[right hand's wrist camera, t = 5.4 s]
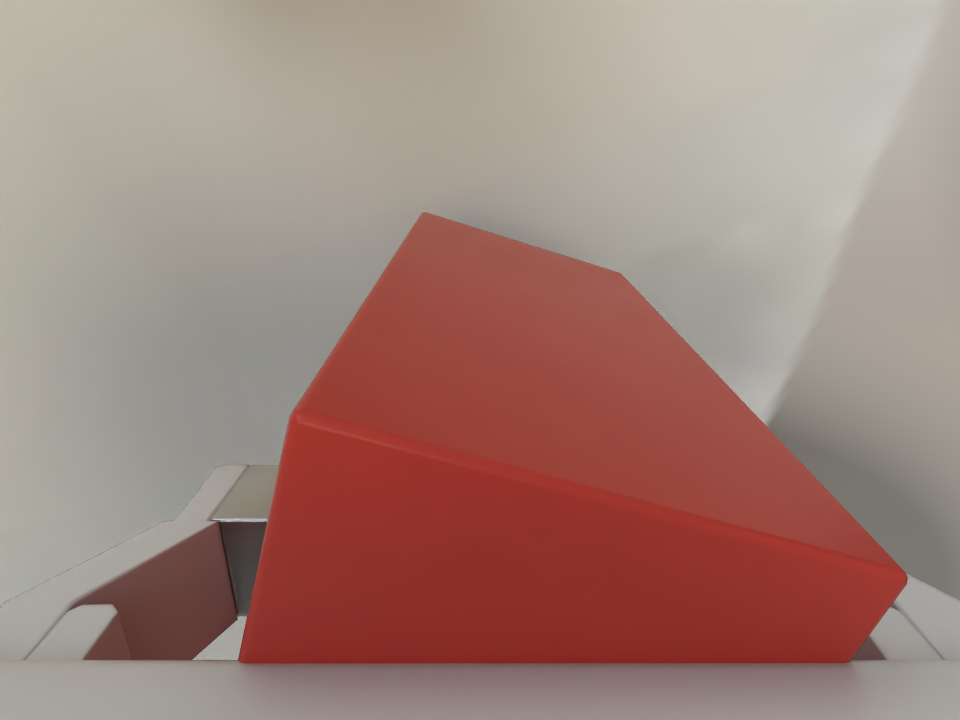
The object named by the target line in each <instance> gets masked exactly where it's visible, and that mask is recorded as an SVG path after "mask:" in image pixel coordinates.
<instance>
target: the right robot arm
mask: <svg viewBox="0 0 960 720" xmlns="http://www.w3.org/2000/svg"><path fill="white" fill-rule="evenodd" d="M278 469H279V466H268V465H251V466H250V465H222V466H218V467H216V469H215V470H214V471H213V472H212V474H211V475H210V476H209V477H208V479H207V480H206V481H205V483H204V484H203V485H202V486H201V488H200V489H199V490H198V492H197V493H196V494H195V495H194V497H193V498H192V499H191V500H190V502H189V503H188V504H187V506H186V507H185V508H184V509H183V511H182V512H181V513H180V515H179V516H178V517H177V518H176V520H175V521H164V522H162V523H160V524H158V525H156V526H154V527H152V528H150V529H148V530H146V531H144V532H142V533H140V534H138V535H136V536H134V537H132V538H130V539H128V540H126V541H125V542H123V543H121V544H119V545H117V546H115V547H113V548H111V549H109V550H107V551H105V552H103V553H101V554H99V555H97V556H95V557H93V558H91V559H89V560H87V561H85V562H83V563H81V564H79V565H77V566H75V567H73V568H71V569H69V570H67V571H65V572H63V573H61V574H59V575H57V576H55V577H53V578H51V579H49V580H48V581H46V582H44V583H42V584H40V585H38V586H36V587H34V588H32V589H30V590H28V591H26V592H24V593H22V594H20V595H18V596H16V597H14V598H12V599H10V600H8V601H6V602H5V603H4V604H3V605H2V606H1V607H0V720H960V601H959V600H957V599H955V598H954V597H952V596H950V595H948V594H946V593H944V592H942V591H940V590H938V589H936V588H934V587H932V586H930V585H928V584H926V583H924V582H922V581H920V580H918V579H916V578H914V577H912V576H910V575H908V574H907V577H908V581H907V585H906V586H905V588H904V589H903V590H902V592H901V593H900V594H899V596H898V597H897V598H896V600H895V601H894V602H893V604H892V605H891V607H890V608H889V609H888V611H887V612H886V613H885V615H884V616H883V617H882V619H881V620H880V621H879V623H878V624H877V626H876V627H875V628H874V630H873V631H872V632H871V634H870V635H869V636H868V638H867V639H866V640H865V642H864V643H863V645H862V646H861V647H860V649H859V650H858V651H857V653H856V654H855V655H854V657H853V658H852V659H851V661H850V662H847V663H357V664H246V663H240V662H239V661H238V660H192V659H193V658H194V657H196V656H197V655H198V654H199V653H200V652H201V651H202V650H203V649H205V648H206V647H207V646H208V645H209V644H210V643H211V642H212V641H214V640H215V639H216V638H217V637H218V636H219V635H220V634H221V633H223V632H224V631H225V630H226V629H227V628H228V627H229V626H230V625H232V624H233V623H234V622H235V621H236V620H237V616H248V611H249V606H250V601H251V597H252V592H253V587H254V582H255V578H256V573H257V568H258V563H259V559H260V554H261V549H262V545H263V540H264V535H265V530H266V526H267V521H268V516H269V511H270V507H271V502H272V497H273V492H274V488H275V483H276V478H277V474H278Z"/></svg>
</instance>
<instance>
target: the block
mask: <svg viewBox="0 0 960 720" xmlns="http://www.w3.org/2000/svg"><path fill="white" fill-rule="evenodd" d="M907 581H908V577H907V574H906V572H905V571H904V570H903V569H902V568H901V567H900V566H899V565H898V564H897V563H896V562H895V561H894V560H893V559H892V558H891V557H890V556H889V555H888V553H887V552H886V551H885V550H884V549H883V548H882V547H881V546H880V545H879V544H878V543H877V542H876V541H875V540H874V539H873V538H872V537H871V536H870V535H869V534H868V532H867V531H866V530H865V529H864V528H863V527H862V526H861V525H860V524H859V523H858V522H857V521H856V520H855V519H854V518H853V517H852V516H851V515H850V514H849V513H848V511H847V510H846V509H845V508H844V507H843V506H842V505H841V504H840V503H839V502H838V501H837V500H836V499H835V498H834V497H833V496H832V495H831V494H830V493H829V492H828V490H827V489H826V488H825V487H824V486H823V485H822V484H821V483H820V482H819V481H818V480H817V479H816V478H815V477H814V476H813V475H812V474H811V473H810V472H809V471H808V469H807V468H806V467H805V466H804V465H803V464H802V463H801V462H800V461H799V460H798V459H797V458H796V457H795V456H794V455H793V454H792V453H791V452H790V451H789V450H788V448H787V447H786V446H785V445H784V444H783V443H782V442H781V441H780V440H779V439H778V438H777V437H776V436H775V435H774V434H773V433H772V432H771V431H770V430H769V429H768V427H767V426H766V425H765V424H764V423H763V422H762V421H761V420H760V419H759V418H758V417H757V416H756V415H755V414H754V413H753V412H752V411H751V410H750V409H749V408H748V406H747V405H746V404H745V403H744V402H743V401H742V400H741V399H740V398H739V397H738V396H737V395H736V394H735V393H734V392H733V391H732V390H731V389H730V388H729V387H728V385H727V384H726V383H725V382H724V381H723V380H722V379H721V378H720V377H719V376H718V375H717V374H716V373H715V372H714V371H713V370H712V369H711V368H710V367H709V366H708V364H707V363H706V362H705V361H704V360H703V359H702V358H701V357H700V356H699V355H698V354H697V353H696V352H695V351H694V350H693V349H692V348H691V347H690V346H689V345H688V343H687V342H686V341H685V340H684V339H683V338H682V337H681V336H680V335H679V334H678V333H677V332H676V331H675V330H674V329H673V328H672V327H671V326H670V325H669V324H668V322H667V321H666V320H665V319H664V318H663V317H662V316H661V315H660V314H659V313H658V312H657V311H656V310H655V309H654V308H653V307H652V306H651V305H650V304H649V303H648V302H647V300H646V299H645V298H644V297H643V296H642V295H641V294H640V293H639V292H638V291H637V290H636V289H635V288H634V287H633V286H632V285H631V284H630V283H629V282H628V281H627V279H626V278H625V277H624V276H623V275H622V274H621V273H618V272H615V271H612V270H608V269H605V268H602V267H599V266H596V265H592V264H589V263H586V262H583V261H580V260H576V259H573V258H570V257H567V256H564V255H560V254H557V253H554V252H551V251H548V250H544V249H541V248H538V247H535V246H531V245H528V244H525V243H522V242H519V241H515V240H512V239H509V238H506V237H503V236H499V235H496V234H493V233H490V232H487V231H483V230H480V229H477V228H474V227H471V226H467V225H464V224H461V223H458V222H455V221H451V220H448V219H445V218H442V217H439V216H435V215H432V214H429V213H426V212H425V213H422V214H421V215H420V217H419V218H418V220H417V221H416V223H415V225H414V226H413V228H412V229H411V231H410V232H409V234H408V235H407V237H406V238H405V240H404V241H403V243H402V244H401V246H400V248H399V249H398V251H397V252H396V254H395V255H394V257H393V258H392V260H391V261H390V263H389V264H388V266H387V267H386V269H385V271H384V272H383V274H382V275H381V277H380V278H379V280H378V281H377V283H376V284H375V286H374V287H373V289H372V291H371V292H370V294H369V295H368V297H367V298H366V300H365V301H364V303H363V304H362V306H361V307H360V309H359V310H358V312H357V314H356V315H355V317H354V318H353V320H352V321H351V323H350V324H349V326H348V327H347V329H346V330H345V332H344V334H343V335H342V337H341V338H340V340H339V341H338V343H337V344H336V346H335V347H334V349H333V350H332V352H331V353H330V355H329V357H328V358H327V360H326V361H325V363H324V364H323V366H322V367H321V369H320V370H319V372H318V373H317V375H316V377H315V378H314V380H313V381H312V383H311V384H310V386H309V387H308V389H307V390H306V392H305V393H304V395H303V396H302V398H301V400H300V401H299V403H298V404H297V406H296V407H295V409H294V410H293V412H292V413H291V415H290V417H289V421H288V426H287V431H286V436H285V440H284V445H283V450H282V455H281V459H280V464H279V469H278V474H277V478H276V483H275V488H274V492H273V497H272V502H271V507H270V511H269V516H268V521H267V526H266V530H265V535H264V540H263V545H262V549H261V554H260V559H259V563H258V568H257V573H256V578H255V582H254V587H253V592H252V597H251V601H250V606H249V611H248V616H247V620H246V625H245V630H244V634H243V639H242V644H241V649H240V653H239V658H238V661H239V662H240V663H246V664H357V663H847V662H850V661H851V659H852V658H853V657H854V655H855V654H856V653H857V651H858V650H859V649H860V647H861V646H862V645H863V643H864V642H865V640H866V639H867V638H868V636H869V635H870V634H871V632H872V631H873V630H874V628H875V627H876V626H877V624H878V623H879V621H880V620H881V619H882V617H883V616H884V615H885V613H886V612H887V611H888V609H889V608H890V607H891V605H892V604H893V602H894V601H895V600H896V598H897V597H898V596H899V594H900V593H901V592H902V590H903V589H904V588H905V586H906V585H907Z"/></svg>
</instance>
